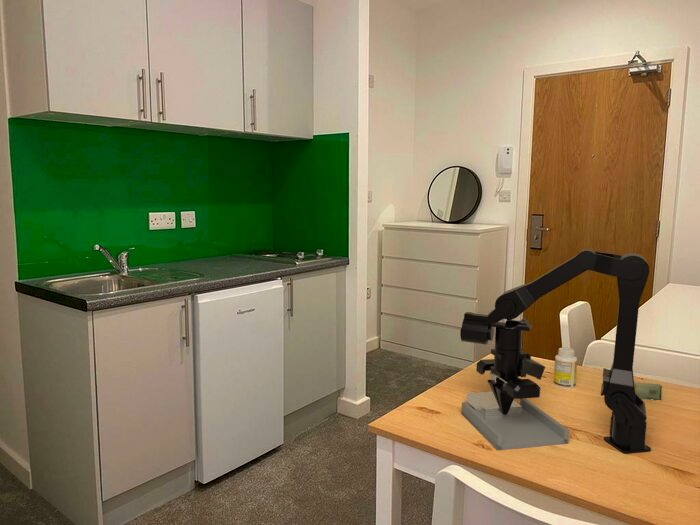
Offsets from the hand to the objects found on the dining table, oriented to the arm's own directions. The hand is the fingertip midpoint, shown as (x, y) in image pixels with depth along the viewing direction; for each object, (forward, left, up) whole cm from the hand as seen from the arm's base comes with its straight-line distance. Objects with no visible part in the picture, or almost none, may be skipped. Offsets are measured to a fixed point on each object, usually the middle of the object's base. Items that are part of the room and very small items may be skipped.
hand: (504, 414), depth 122 cm
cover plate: (+6, 0, -1) cm, 6 cm away
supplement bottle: (+19, -28, -2) cm, 34 cm away
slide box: (-3, 0, -2) cm, 4 cm away
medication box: (+8, -40, -2) cm, 41 cm away
